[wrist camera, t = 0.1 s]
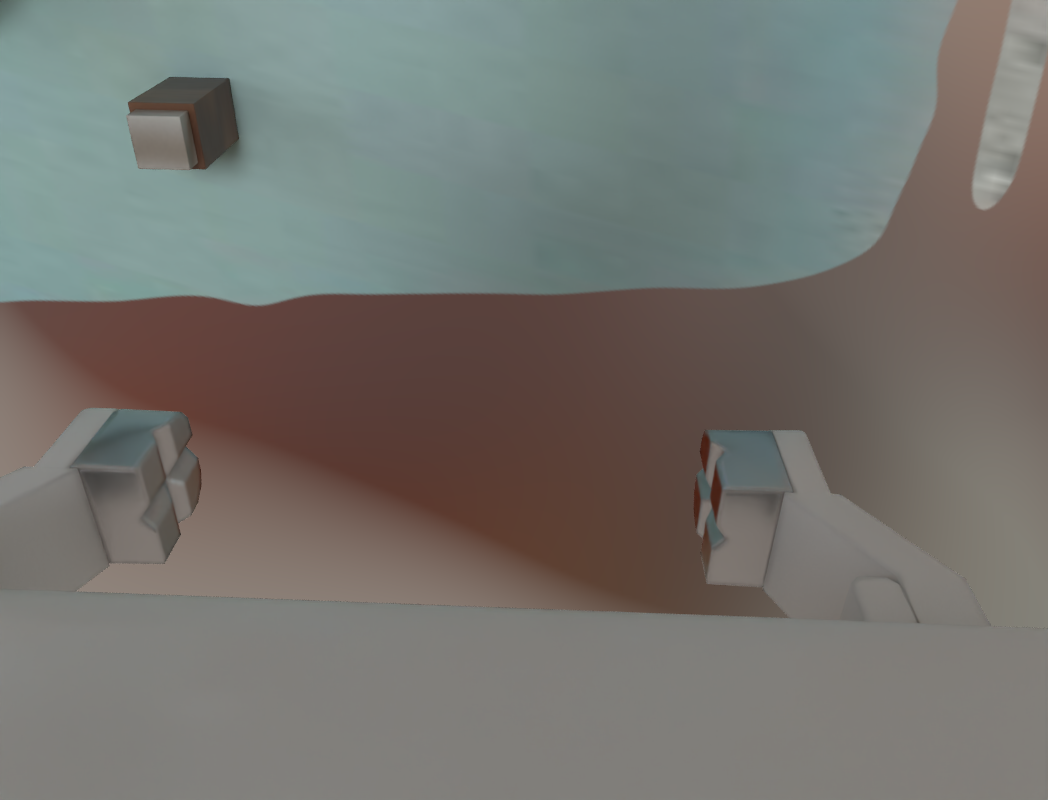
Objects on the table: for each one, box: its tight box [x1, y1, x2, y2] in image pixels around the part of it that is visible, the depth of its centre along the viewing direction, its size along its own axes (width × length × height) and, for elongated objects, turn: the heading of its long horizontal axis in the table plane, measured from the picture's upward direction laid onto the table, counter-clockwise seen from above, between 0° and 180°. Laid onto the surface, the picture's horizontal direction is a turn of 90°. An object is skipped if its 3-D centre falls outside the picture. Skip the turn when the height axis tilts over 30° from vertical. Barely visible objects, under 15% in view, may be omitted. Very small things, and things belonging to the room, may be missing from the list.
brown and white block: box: [126, 77, 239, 170], centre depth 55 cm, size 4×4×8 cm
